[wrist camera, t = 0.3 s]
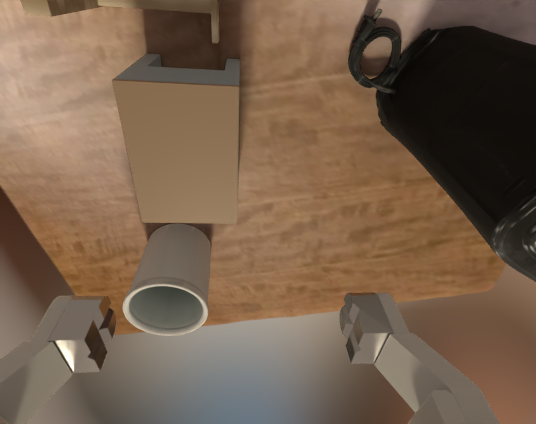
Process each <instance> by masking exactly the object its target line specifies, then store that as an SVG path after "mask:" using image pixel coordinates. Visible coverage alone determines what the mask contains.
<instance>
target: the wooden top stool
mask: <svg viewBox="0 0 536 424" xmlns="http://www.w3.org/2000/svg"><path fill="white" fill-rule="evenodd" d="M112 83H113V88H114V92H115V97H116V102H117V107H118V111H119V116H120V121H121V125H122V130H123V135H124V139H125V144H126V149H127V154H128V158H129V163H130V168H131V172H132V177H133V182H134V186H135V191H136V196H137V201H138V205H139V210H140V215H141V219H142V223H219V224H237V216H238V170H239V164H238V154H239V83H240V59H228V58H227V61H226V66H225V71H224V70H206V69H188V68H171V67H162V65H161V57H160V54H145V55H144V56H143V57H141V58H140V59H139V60H138V61H136V62H135V63H134V64H132V65H131V66H130V67H129V68H127V69H126V70H125V71H123V72H122V73H121V74H119V75H118V76H117V77H116V78H114V79H113V80H112Z"/></svg>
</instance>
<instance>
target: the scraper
mask: <svg viewBox="0 0 536 424" xmlns="http://www.w3.org/2000/svg"><path fill="white" fill-rule="evenodd" d="M21 3H22V6H23V9H24V12H25V15H37V16H57V15H62V14H67V13H72V12H77V11H82V10H87V9H92V8H97V7H103V6H113V7H127V8H141V9H155V10H169V11H182V12H196V13H210V14H211V25H212V43H218V42H219V0H21Z"/></svg>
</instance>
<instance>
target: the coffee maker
mask: <svg viewBox="0 0 536 424" xmlns="http://www.w3.org/2000/svg"><path fill="white" fill-rule="evenodd" d="M381 13H382V10H381V9H378V10H377V11H376V12H375V14H374V15H373V16H372V17H369V16H366V15H364V18H365V20H364V21H363V23H362V25H361V28H360V30H359V31H358V35H357V37H356V38H355V40H354V41H353V43H354V45H353V47H352V49H351V52H350V54H349V58H348V64H349V69H350V72H351V74H352V76H353V77H354V78H355V80H356V81H357V82H358V83H359V84H360V85H362V86H364V87H366V88H372V87H375V88H376V89H378V90H377V94H376V100H377V107H378V109H379V111H378V114H379V117H380V119H381V124H382V126H384V127H385V129H386V130H387V131H388V132H390V133H391V134H392V135H393V136H394V137H395V138H396V139H398V140H399V141H400V142H401V143H402V144H403V145H404V146H405V147H406V148H407V149H408V150H409V151H410V152H411V153H412V154H413V155H414V156H415V158H416V159H417V160H418V161H419V162H420V163H421V164H422V165H423V166H424V167H425V169H426V170H427V171H428V172H429V173H430V174H431V176H432V177H433V178H434V179H435V180H436V181H437V182H438V184H439V185H440V186H441V187H442V188H443V189H444V190H445V191H446V192H447V194H448V195H449V196H450V197H451V198H452V199H453V201H454V202H455V203H456V204H457V205H458V206H459V208H460V209H461V210H462V211H463V212H464V214H465V215H466V216H467V218H468V219H469V220H470V221H471V223H472V224H473V225H474V226H475V228H476V229H477V230H478V231H479V233H480V234H481V235H482V237H483V238H484V239H485V240H486V242H487V243H488V244H489V245H490V247H491V248H492V249H493V251H494V252H495V253H496V254H497V255H498V256H499V257H500V258H501V259H502V260H503V261H504V262H505V263H507V264H508V265H509V266H511V267H512V268H514V269H515V270H517V271H518V272H520V273H522V274H523V275H525V276H527V277H528V278H530V279H532V280H534V281H535V282H536V45H532V44H528V43H525V42H522V41H518V40H514V39H511V38H508V37H505V36H502V35H498V34H496V33H492V32H489V31H486V30H483V29H480V28H477V27H474V26H460V27H453V28H446V29H440V30H432V31H431V29H427V30H426V31H425V32H424V33H422V34H421V36H420V37H419V38H418V39H417V41H415V42H414V43H413V44H412V45H411V46H410V47H409V48H408V50H407V51H406V52H405V53H404V54H403V55H402V56H401V58H400V53H401V40H400V37H399V35H398V34H397V33H396V32H395V31H394V30H393V29H391V28H388V27H379V28H376V29H374V28H375V27H378V25H377V24H376V22H375V21H376V20H377V18H378V17H379V16H380V14H381ZM373 29H374V30H373ZM378 37H388V38H390V40H391V41H392V54H391V58H390V61H389V64H388V66H387V67H386V69H385V70H384V71H383V72H382V73H381V74H380V75H379V76H377V77H375V78H373V79H369V78H367V77H366V76H365V75H364V74H363V73H362V71H361V67H360V61H361V56H362V53H363V51H364V49H365V48H366V46H367V45H368V44H369V43H370V42H371V41H373V40H374V39H376V38H378ZM399 58H400V59H399ZM380 84H381V85H380Z"/></svg>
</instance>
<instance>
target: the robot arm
mask: <svg viewBox="0 0 536 424" xmlns="http://www.w3.org/2000/svg"><path fill="white" fill-rule="evenodd" d="M344 301H345V305H344V306H343V307H342V308H341V311H340V326H341V330H342V334H343V335H344V336H345V337H346V338H347V339H348V340H347V343H346V349H347V352H348V356H349V359H350V362H351V364H375V366H376V367H377V368H378V369H379V371H380V372H381V373H382V374H383V375H384V377H385V378H386V379H387V380H388V381H389V382H390V384H391V385H392V386H393V387H394V388H395V389H396V391H397V392H398V393H399V394H400V395H401V396H402V398H403V399H404V400H405V401H406V402H407V403H408V405H409V406H410V407H411V408H412V409H413V410H414V412H415V415H414V416H413V417H412V418H411V420H410V421H409V422H408V424H500V423H499V421H498V420H497V418H496V416H495V414H494V413H493V411H492V409H491V407H490V406H489V404H488V402H487V401H486V399H485V397H484V395H483V393H482V392H481V390H480V388H479V387H478V386H477V385H475V384H474V383H473V382H472V381H471V380H469V379H468V378H467V377H466V376H465V375H463V374H462V373H461V372H460V371H459V370H457V369H456V368H455V367H454V366H452V365H451V364H450V363H449V362H448V361H446V360H445V359H444V358H443V357H442V356H441V355H439V354H438V353H437V352H436V351H435V350H433V349H432V348H431V347H430V346H428V345H427V344H426V343H425V342H424V341H422V340H421V339H420V338H419V337H418V336H416V335H415V334H414V333H409V331H408V329H407V327H406V324H405V322H404V320H403V318H402V316H401V314H400V312H399V310H398V308H397V306H396V303H395V301H394V299H393V297H392V295H391V294H390V293H374V292H369V293H347V294H346V295H345V298H344ZM110 304H111V302H110V299H109V297H108V296H58V297H57V298H55V299H54V300H53V302H52V303H51V305H50V307H49V308H48V310H47V312H46V314H45V315H44V317H43V319H42V320H41V322H40V324H39V326H38V327H37V329H36V330H35V332H34V334H33V336H32V337H31V339H30V341H29V342H23V343H22V344H21V345H19V346H18V347H16V348H15V349H14V350H13V351H11V352H10V353H9V354H7V355H6V356H4V357H3V358H2V359H0V424H26V423H27V422H28V421H29V420H30V419H31V418H32V417H33V416H34V415H35V414H36V413H37V412H38V411H39V409H40V408H41V407H42V406H43V405H44V404H45V403H46V402H47V401H48V400H49V399H50V398H51V397H52V396H53V395H54V394H55V393H56V392H57V391H58V389H59V388H60V387H61V386H62V385H63V384H64V383H65V382H66V381H67V380H68V379H69V378H70V377H71V376H72V373H83V372H99V371H101V368H102V365H103V363H104V360H105V357H106V354H107V349H106V347H105V345H106V344H107V343H108V342H109V341H110V340H111V339H112V338H113V335H114V332H115V327H116V315H115V312H114V311H113V310H112V309H110V308H109V306H110Z"/></svg>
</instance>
